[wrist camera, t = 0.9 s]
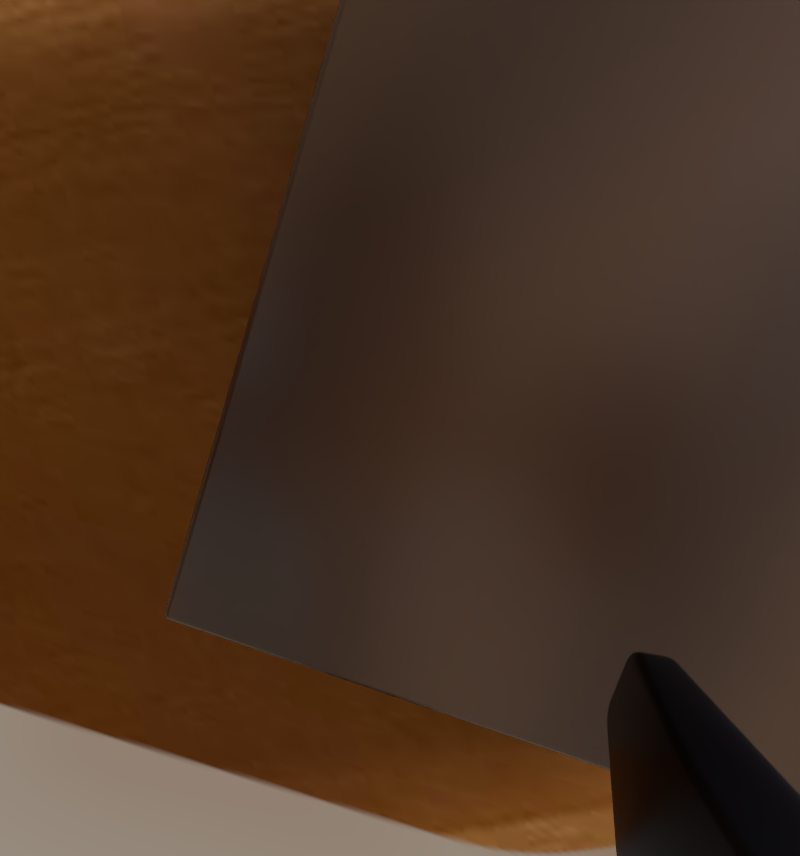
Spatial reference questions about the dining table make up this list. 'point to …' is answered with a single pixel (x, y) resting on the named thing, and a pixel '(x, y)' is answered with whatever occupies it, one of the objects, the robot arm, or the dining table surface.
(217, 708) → the dining table surface
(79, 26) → the dining table surface
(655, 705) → the robot arm
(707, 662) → the cabinet
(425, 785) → the dining table surface
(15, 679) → the dining table surface
